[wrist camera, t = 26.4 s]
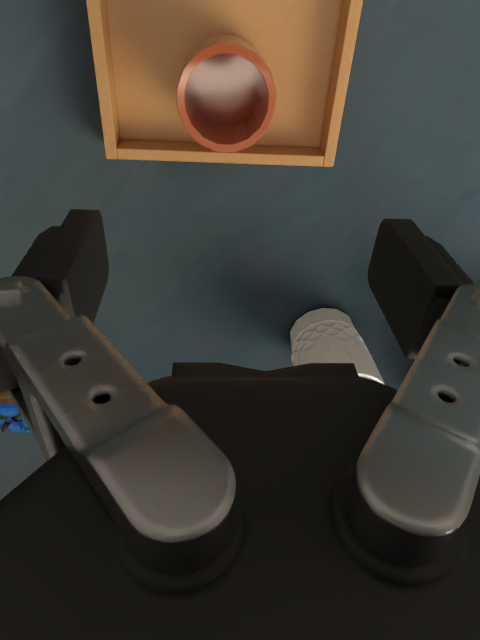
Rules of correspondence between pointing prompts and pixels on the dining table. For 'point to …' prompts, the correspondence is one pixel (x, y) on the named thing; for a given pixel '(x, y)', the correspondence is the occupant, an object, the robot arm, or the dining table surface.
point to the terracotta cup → (225, 93)
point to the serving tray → (178, 40)
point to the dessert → (11, 415)
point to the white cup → (331, 342)
